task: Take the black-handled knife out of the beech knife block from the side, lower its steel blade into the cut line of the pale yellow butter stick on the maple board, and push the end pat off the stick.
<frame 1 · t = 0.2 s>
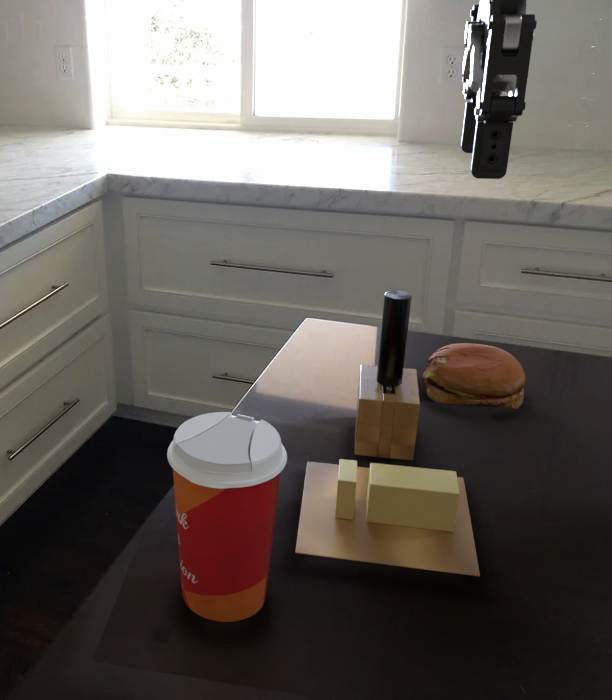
hand: (481, 164, 62), 28 cm above the table, tool pointing down, fingers open, 8 cm apart
paper cup: (223, 611, 61), on the table
board: (382, 528, 69), on the table
burger: (470, 397, 89), on the table
butter pat: (346, 489, 68), point 3 cm above the table, slide at 0.0 cm
knife block: (381, 451, 80), on the table
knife: (389, 376, 76), in the knife block
butter: (408, 515, 68), resting on board
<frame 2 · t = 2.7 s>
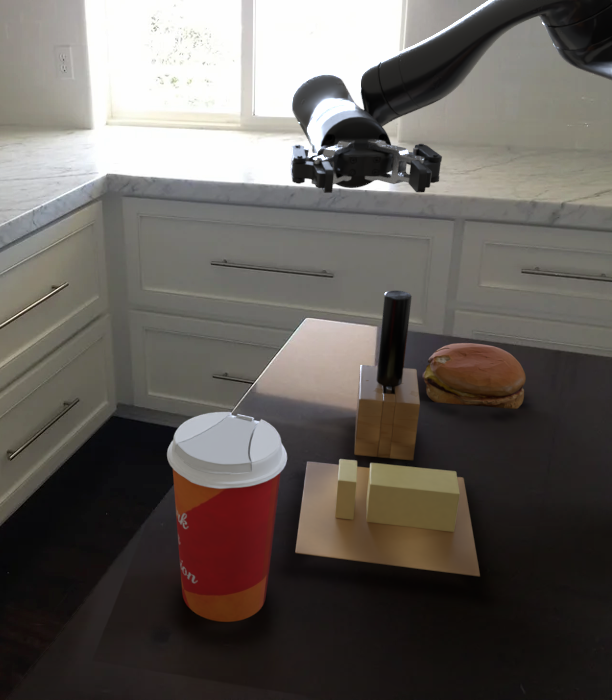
hand: (376, 182, 80), 22 cm above the table, tool horizontal, fingers open, 8 cm apart
nothing on the table moved.
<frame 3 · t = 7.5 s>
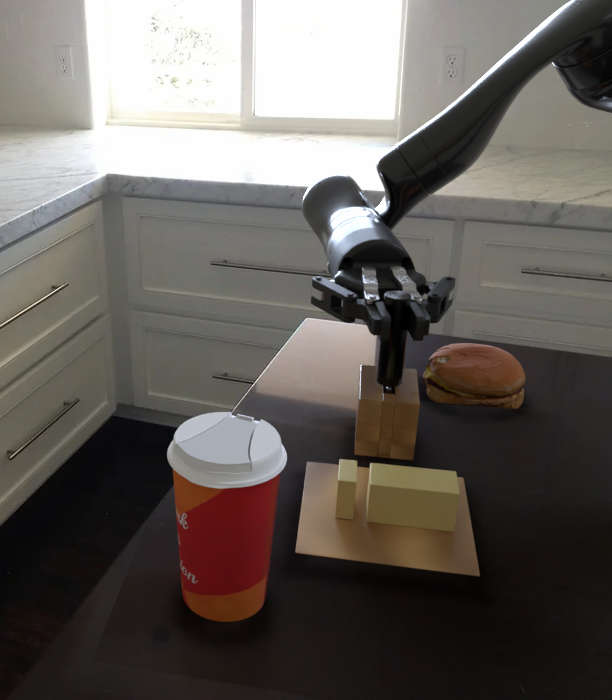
hand: (403, 330, 71), 13 cm above the table, tool horizontal, fingers closed on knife, 2 cm apart
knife: (389, 376, 76), in the knife block, touching gripper
everything else where it was.
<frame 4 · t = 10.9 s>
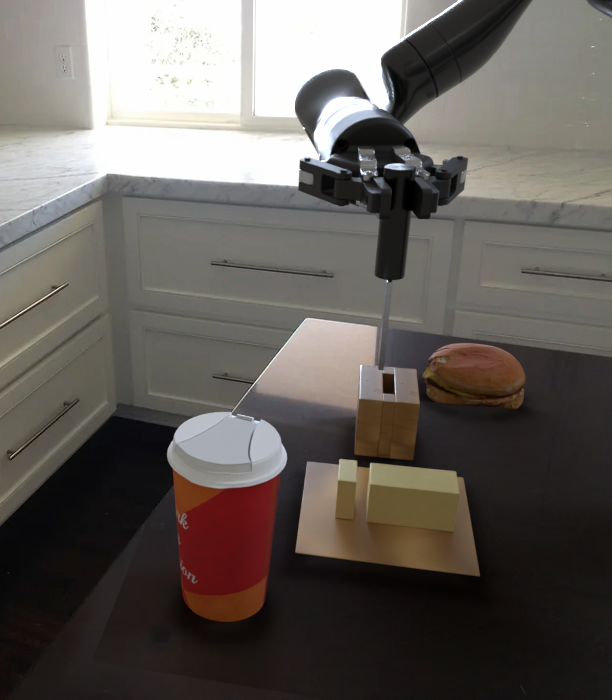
hand: (406, 205, 60), 26 cm above the table, tool horizontal, fingers closed on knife
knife: (390, 269, 65), point 20 cm above the table, touching gripper
everything else where it was.
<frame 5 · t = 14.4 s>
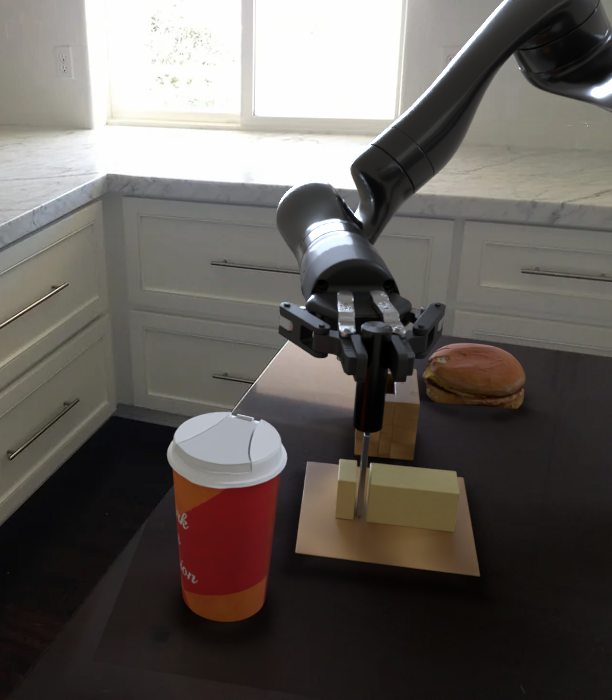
hand: (382, 369, 61), 15 cm above the table, tool horizontal, fingers closed on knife, 2 cm apart
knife: (367, 420, 66), point 10 cm above the table, touching gripper
everything else where it was.
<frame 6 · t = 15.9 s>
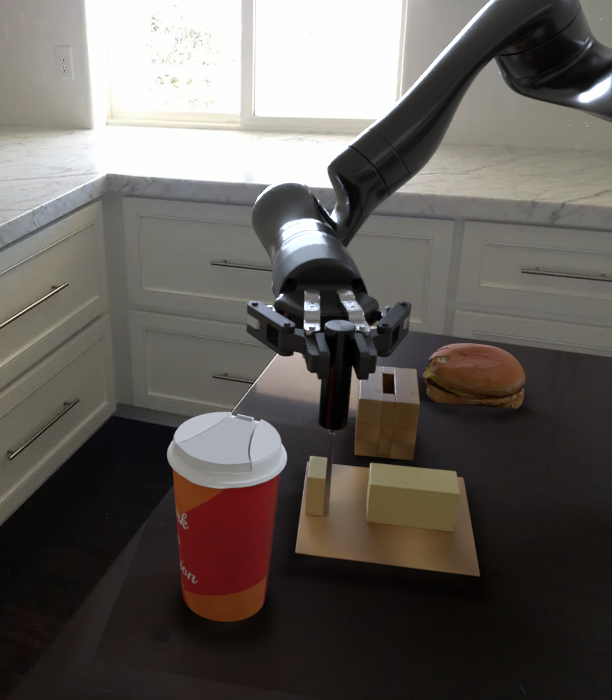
hand: (344, 367, 61), 15 cm above the table, tool horizontal, fingers closed on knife, 2 cm apart
butter pat: (316, 485, 69), point 3 cm above the table, slide at 2.3 cm, touching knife
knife: (333, 418, 66), point 10 cm above the table, touching butter pat, gripper
everything else where it was.
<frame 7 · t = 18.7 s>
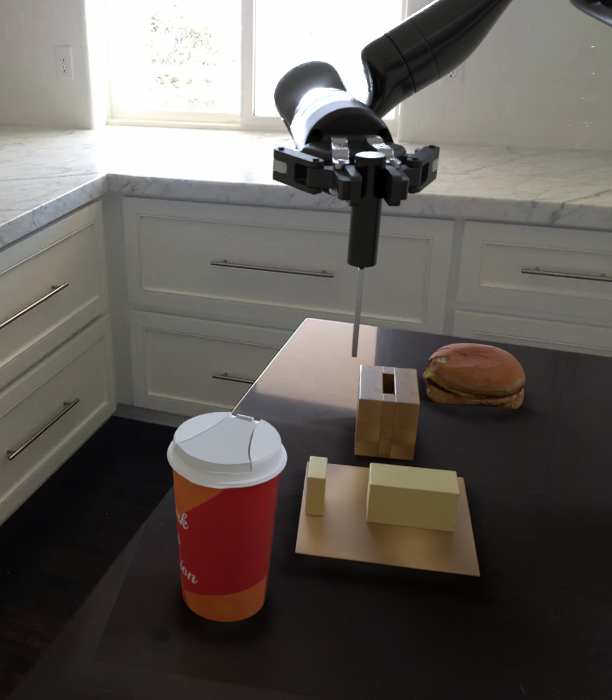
hand: (376, 192, 60), 27 cm above the table, tool horizontal, fingers closed on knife
butter pat: (316, 485, 69), point 3 cm above the table, slide at 2.3 cm
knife: (362, 256, 65), point 21 cm above the table, touching gripper
everything else where it was.
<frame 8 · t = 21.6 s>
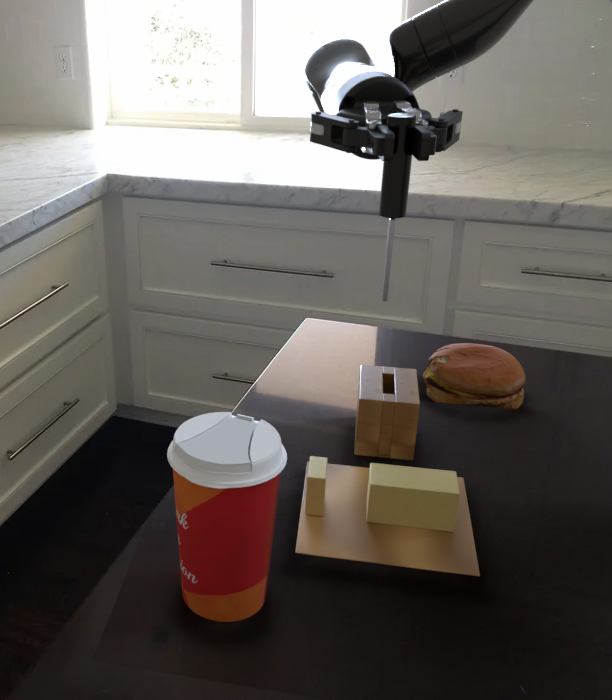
hand: (407, 147, 67), 28 cm above the table, tool horizontal, fingers closed on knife
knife: (392, 209, 72), point 22 cm above the table, touching gripper
everything else where it was.
at the end: butter pat slide at 2.3 cm; the gripper is holding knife; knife point 22.2 cm above the table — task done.
